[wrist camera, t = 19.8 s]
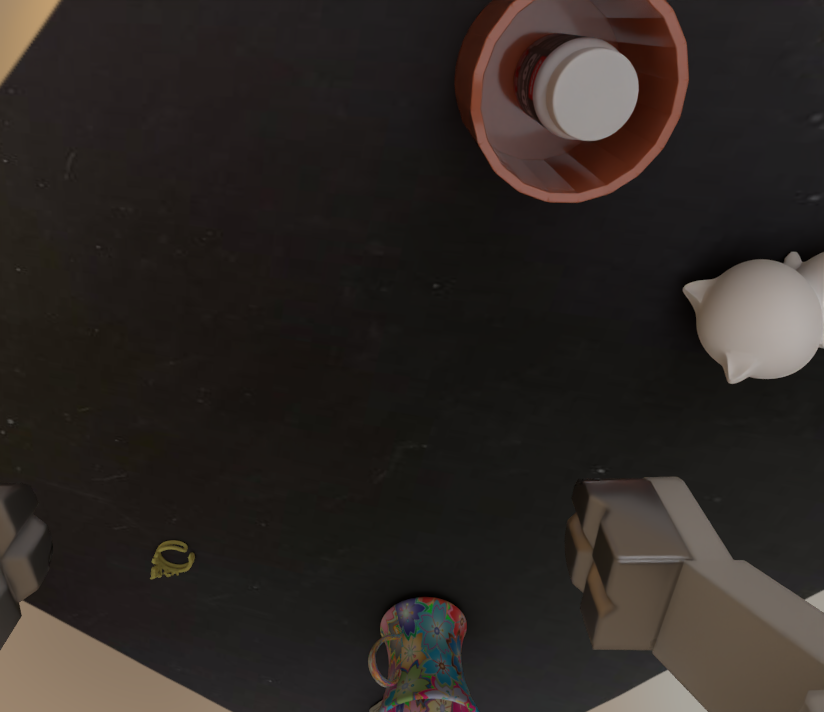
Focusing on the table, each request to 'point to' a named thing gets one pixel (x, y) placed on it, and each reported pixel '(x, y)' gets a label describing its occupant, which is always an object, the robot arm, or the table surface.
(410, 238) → the table surface
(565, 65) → the pill bottle
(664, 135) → the cup
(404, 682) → the mug
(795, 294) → the cat figurine
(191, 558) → the ring
